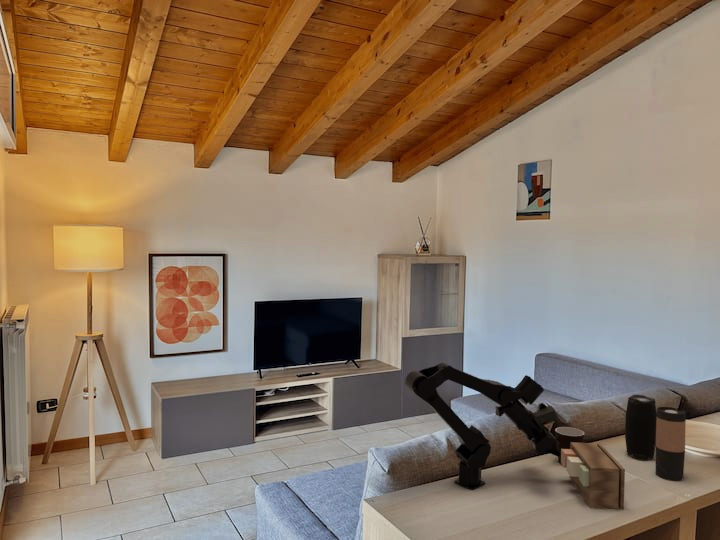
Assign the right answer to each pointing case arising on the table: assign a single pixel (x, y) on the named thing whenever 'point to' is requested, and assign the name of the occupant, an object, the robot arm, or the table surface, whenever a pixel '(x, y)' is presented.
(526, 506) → the table surface
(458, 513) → the table surface
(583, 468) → the key sage
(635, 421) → the portable speaker
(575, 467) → the key cream
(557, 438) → the coffee mug
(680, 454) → the travel mug
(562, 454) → the key terracotta
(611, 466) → the key panel
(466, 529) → the table surface
